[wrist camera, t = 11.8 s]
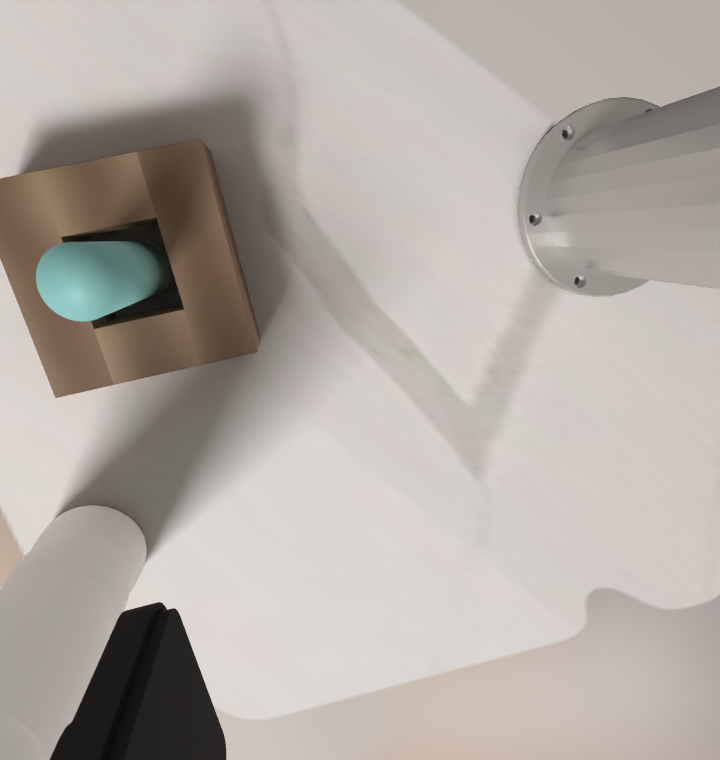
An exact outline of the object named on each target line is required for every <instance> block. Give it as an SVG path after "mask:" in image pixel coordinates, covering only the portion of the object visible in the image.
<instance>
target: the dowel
mask: <svg viewBox="0 0 720 760" xmlns="http://www.w3.org/2000/svg"><path fill="white" fill-rule="evenodd" d="M172 275H173V271H172V268H171V264H170V261H169V258H168V254H167V253H166V252H165V250H163V249H162V248H161V247H160V246H158V245H157V244H155V243H152V242H149V241H102V242H67V243H62V244H58V245H56V246H54V247H52V248H51V249H49V250H48V251H47V252H46V253H45V254H44V255H43V256H42V258H41V259H40V261H39V263H38V266H37V270H36V284H37V288H38V291H39V293H40V296H41V297H42V299H43V301H44V302H45V303H46V304H47V306H48V307H49V308H50V309H52V310H53V311H54V312H55V313H57V314H58V315H60V316H62V317H64V318H67V319H70V320H74V321H92V320H96V319H98V318H101V317H103V316H105V315H108V314H110V313H112V312H115V311H117V310H120V309H122V308H124V307H127V306H129V305H131V304H134V303H136V302H139V301H141V300H143V299H146V298H148V297H150V296H153V295H155V294H158V293H160V292H162V291H163V290H164V289H165V288H166V287H167V286H168V285H169V283H170V282H171V279H172Z"/></svg>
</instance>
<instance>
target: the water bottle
mask: <svg viewBox="0 0 720 760" xmlns="http://www.w3.org/2000/svg"><path fill="white" fill-rule="evenodd" d="M146 553H147V548H146V542H145V538H144V535H143V533H142V531H141V530H140V528H139V527H138V525H137V524H136V523H135V522H134V521H133V520H132V519H131V518H129V517H128V516H127V515H125V514H124V513H122V512H120V511H118V510H115V509H112V508H109V507H105V506H97V505H89V506H81V507H77V508H74V509H71V510H68V511H66V512H64V513H63V514H61V515H60V516H58V517H57V518H56V519H54V520H53V521H52V522H51V523H50V524H49V526H48V527H47V528H46V529H45V530H44V532H43V533H42V534H41V535H40V537H39V538H38V540H37V541H36V543H35V544H34V546H33V547H32V549H31V551H30V552H29V553H28V554H26V555H25V556H24V557H23V558H22V560H20V561H19V563H18V564H17V565H16V566H15V567H14V569H13V570H12V571H11V572H10V574H9V575H8V577H7V578H6V580H5V581H4V583H3V585H2V587H1V589H0V760H50V758H51V755H52V753H53V751H54V749H55V747H56V744H57V742H58V740H59V738H60V736H61V735H62V733H63V731H64V729H65V728H66V726H68V725H69V724H70V723H71V722H72V721H73V719H74V716H75V714H76V712H77V710H78V707H79V705H80V703H81V701H82V698H83V696H84V694H85V692H86V689H87V687H88V685H89V683H90V680H91V678H92V676H93V674H94V671H95V669H96V667H97V665H98V662H99V660H100V658H101V656H102V653H103V651H104V649H105V647H106V644H107V642H108V639H109V636H110V634H111V632H112V631H113V629H114V626H115V624H116V622H117V620H118V618H119V616H120V614H121V613H122V612H123V611H124V609H125V606H126V603H127V601H128V597H129V593H130V592H131V590H132V589H133V587H134V585H135V583H136V582H137V580H138V578H139V576H140V573H141V571H142V569H143V566H144V563H145V560H146Z"/></svg>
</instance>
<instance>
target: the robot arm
mask: <svg viewBox="0 0 720 760" xmlns="http://www.w3.org/2000/svg"><path fill="white" fill-rule="evenodd" d="M562 132H564V134H565V137H564V138H563V136H562ZM530 215H531V216H532V218H533V219H532V222H531V223H530V221H529V216H530ZM518 222H519V229H520V233H521V237H522V241H523V244H524V246H525V248H526V251H527V253H528V255H529V257H530V259H531V260H532V262H533V263H534V264H535V266H536V267H537V268H538V270H539V271H540V272H541V273H542V274H543V275H544V276H545V277H546V278H548V279H549V280H550V281H551V282H552V283H554V284H556V285H558V286H559V287H561V288H563V289H565V290H568V291H571V292H574V293H578V294H582V295H588V296H613V295H617V294H621V293H625V292H628V291H630V290H633V289H635V288H637V287H639V286H642V285H643V284H645V283H646V282H648V281H649V280H653V281H661V282H669V283H677V284H685V285H693V286H701V287H709V288H717V289H720V87H717V88H715V89H712V90H709V91H706V92H703V93H700V94H697V95H694V96H691V97H689V98H686V99H683V100H680V101H677V102H674V103H671V104H668V105H665V106H662V107H659V106H657V105H654V104H652V103H649V102H647V101H644V100H641V99H634V98H626V97H621V98H611V99H605V100H602V101H598V102H596V103H592V104H589V105H587V106H585V107H583V108H580V109H578V110H576V111H574V112H573V113H571V114H570V115H568V116H567V117H565V118H564V119H563V120H561V121H559V122H558V123H557V124H556V125H555V126H554V127H553V128H552V129H551V130H550V131H549V132H548V133H547V134H546V135H545V136H544V138H543V139H542V141H541V142H540V143H539V145H538V146H537V148H536V149H535V151H534V152H533V154H532V156H531V158H530V160H529V163H528V165H527V167H526V169H525V172H524V175H523V179H522V182H521V186H520V190H519V199H518ZM575 278H576V279H577V280H576V282H575V283H574V281H575ZM50 760H226V744H225V738H224V734H223V731H222V728H221V725H220V723H219V720H218V717H217V715H216V712H215V709H214V707H213V704H212V701H211V698H210V696H209V693H208V690H207V688H206V685H205V682H204V680H203V677H202V674H201V671H200V669H199V666H198V663H197V661H196V658H195V655H194V652H193V650H192V647H191V644H190V642H189V639H188V636H187V634H186V631H185V628H184V625H183V623H182V620H181V617H180V615H179V613H178V611H177V610H176V609H174V608H173V609H169V610H167V609H166V607H165V606H164V605H163V603H160V602H158V603H154V604H150V605H146V606H142V607H139V608H135V609H131V610H127V611H124V612H122V613H121V614H120V616H119V618H118V620H117V622H116V624H115V626H114V629H113V631H112V633H111V635H110V638H109V640H108V642H107V644H106V647H105V649H104V651H103V653H102V656H101V658H100V660H99V662H98V665H97V667H96V669H95V671H94V674H93V676H92V678H91V680H90V683H89V685H88V687H87V689H86V692H85V694H84V696H83V698H82V701H81V703H80V705H79V707H78V710H77V712H76V714H75V716H74V719H73V721H72V722H71V723H70V724H69V725H68V726H66V728H65V729H64V731H63V733H62V735H61V736H60V738H59V740H58V742H57V744H56V747H55V749H54V751H53V753H52V755H51V758H50Z"/></svg>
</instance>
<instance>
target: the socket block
mask: <svg viewBox="0 0 720 760" xmlns="http://www.w3.org/2000/svg"><path fill="white" fill-rule="evenodd" d="M157 222H158V225H159V228H160V231H161V235H162V238H163V241H164V244H165V248H166V251H167V254H168V258H169V261H170V264H171V268H172V271H173V274H174V277H175V281H176V284H177V287H178V291H179V294H180V297H181V300H182V304H180V305H176V306H171V307H167V308H162V309H157V310H153V311H148V312H144V313H139V314H135V315H130V316H126V317H121V318H116V317H115V314H114V312H112V313H110V314H108V315H105V316H103V317H101V318H98V319H96V320H92V321H74V320H70V319H67V318H64V317H62V316H60V315H58V314H57V313H55V312H54V311H53V310H52V309H50V308H49V307H48V306H47V304H46V303H45V302H44V301H43V299H42V297H41V296H40V293H39V291H38V288H37V284H36V270H37V266H38V263H39V261H40V259H41V258H42V256H43V255H44V254H45V253H46V252H47V251H48V250H49V249H51V248H52V247H54V246H56V245H58V244H62V243H67V242H89V239H88V237H90V236H94V235H99V234H104V233H109V232H114V231H118V230H123V229H128V228H133V227H138V226H143V225H147V224H152V223H157ZM0 259H1V261H2V264H3V266H4V269H5V271H6V274H7V276H8V279H9V281H10V284H11V286H12V289H13V292H14V294H15V297H16V299H17V302H18V304H19V307H20V309H21V312H22V314H23V317H24V319H25V322H26V324H27V327H28V329H29V332H30V335H31V337H32V340H33V342H34V345H35V347H36V350H37V352H38V355H39V357H40V360H41V362H42V365H43V367H44V370H45V372H46V375H47V377H48V380H49V383H50V385H51V388H52V390H53V393H54V395H55V398H58V397H62V396H66V395H71V394H75V393H80V392H84V391H88V390H93V389H97V388H101V387H106V386H110V385H115V384H119V383H123V382H128V381H132V380H137V379H141V378H145V377H150V376H154V375H159V374H163V373H167V372H172V371H176V370H180V369H185V368H189V367H194V366H198V365H202V364H207V363H211V362H216V361H220V360H224V359H229V358H233V357H238V356H242V355H246V354H251V353H255V352H257V350H258V346H259V343H260V336H259V332H258V329H257V325H256V321H255V317H254V314H253V310H252V306H251V302H250V298H249V295H248V291H247V287H246V283H245V280H244V276H243V272H242V268H241V264H240V261H239V257H238V253H237V249H236V246H235V242H234V238H233V234H232V230H231V227H230V223H229V219H228V215H227V212H226V208H225V204H224V200H223V197H222V193H221V189H220V185H219V181H218V178H217V174H216V170H215V166H214V163H213V159H212V155H211V151H210V150H209V149H208V148H207V147H206V146H205V144H204V143H203V142H202V141H201V140H200V139H199V140H194V141H189V142H184V143H178V144H173V145H168V146H163V147H158V148H153V149H148V150H143V151H138V152H133V153H128V154H123V155H118V156H113V157H107V158H102V159H97V160H92V161H87V162H82V163H77V164H72V165H67V166H62V167H57V168H52V169H47V170H41V171H36V172H31V173H26V174H21V175H16V176H11V177H6V178H1V179H0Z"/></svg>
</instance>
